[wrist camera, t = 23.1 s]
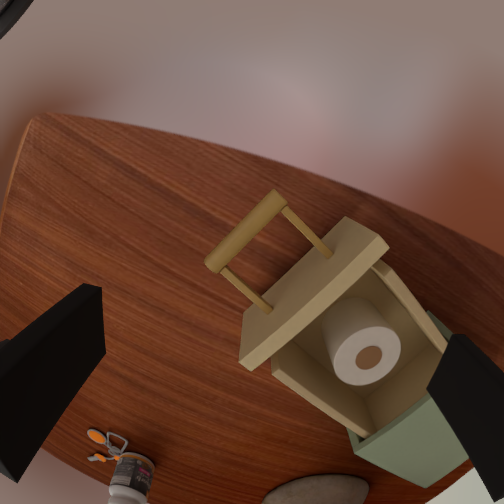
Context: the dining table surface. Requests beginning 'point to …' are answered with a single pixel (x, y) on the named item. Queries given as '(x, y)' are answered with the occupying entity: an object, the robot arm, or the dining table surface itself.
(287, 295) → the drawer
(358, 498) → the bowl
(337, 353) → the paper roll
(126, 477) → the pill bottle
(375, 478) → the dining table surface
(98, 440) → the key chain
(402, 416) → the cabinet
